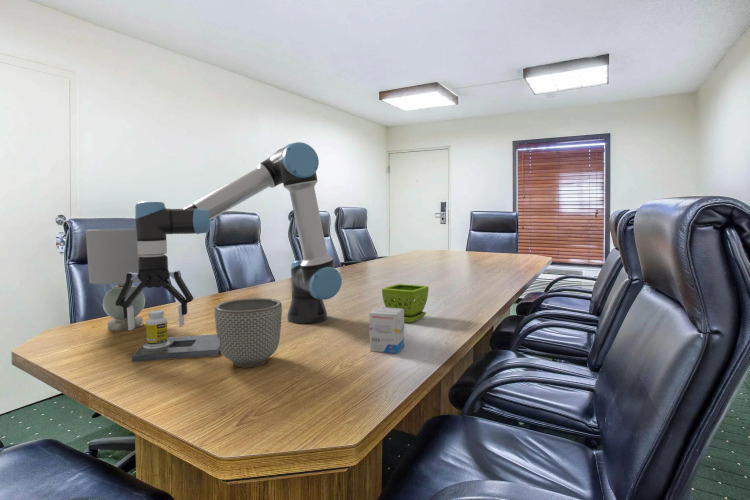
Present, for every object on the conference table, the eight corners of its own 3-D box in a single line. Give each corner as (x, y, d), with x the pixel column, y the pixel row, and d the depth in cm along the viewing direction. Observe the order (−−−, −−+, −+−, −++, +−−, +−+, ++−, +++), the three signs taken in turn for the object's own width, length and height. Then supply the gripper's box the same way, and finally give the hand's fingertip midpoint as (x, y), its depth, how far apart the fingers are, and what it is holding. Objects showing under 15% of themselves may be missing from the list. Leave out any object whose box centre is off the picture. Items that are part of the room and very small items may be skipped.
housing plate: (225, 339, 130) (225, 332, 130) (217, 355, 114) (216, 348, 114) (151, 343, 125) (151, 337, 125) (131, 361, 110) (131, 354, 110)
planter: (246, 379, 97) (244, 314, 96) (202, 366, 106) (200, 306, 105) (296, 358, 112) (295, 301, 111) (253, 348, 121) (252, 295, 120)
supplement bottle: (158, 347, 115) (157, 314, 114) (142, 346, 116) (140, 313, 115) (171, 341, 120) (170, 309, 120) (156, 340, 121) (154, 309, 121)
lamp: (78, 331, 140) (71, 229, 137) (132, 317, 158) (127, 228, 156) (117, 337, 132) (111, 230, 130) (169, 322, 151) (165, 228, 148)
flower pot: (429, 317, 157) (429, 285, 156) (413, 326, 145) (413, 291, 144) (398, 313, 164) (398, 282, 163) (380, 320, 153) (380, 287, 152)
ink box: (405, 345, 123) (405, 307, 122) (397, 354, 115) (397, 314, 114) (378, 342, 126) (378, 305, 125) (369, 351, 118) (368, 311, 117)
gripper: (201, 252, 122) (204, 321, 124) (110, 255, 117) (115, 326, 119) (195, 255, 115) (199, 327, 117) (98, 258, 110) (103, 333, 112)
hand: (157, 327), depth 118 cm, fingers open, 13 cm apart
